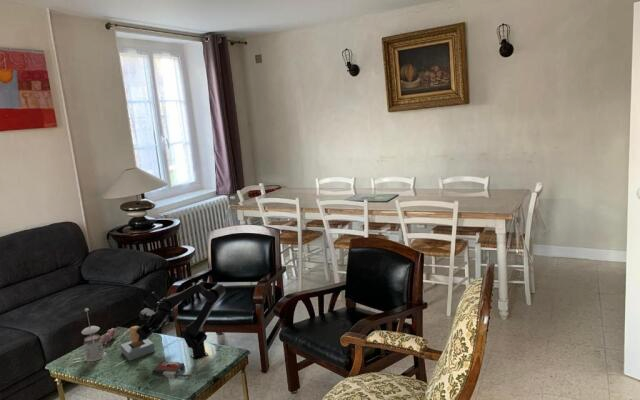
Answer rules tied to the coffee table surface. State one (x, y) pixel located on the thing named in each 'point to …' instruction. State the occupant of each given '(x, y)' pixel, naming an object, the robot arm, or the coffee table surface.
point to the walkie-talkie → (170, 369)
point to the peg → (134, 337)
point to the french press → (95, 348)
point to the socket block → (137, 349)
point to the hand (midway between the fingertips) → (144, 336)
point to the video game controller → (109, 335)
